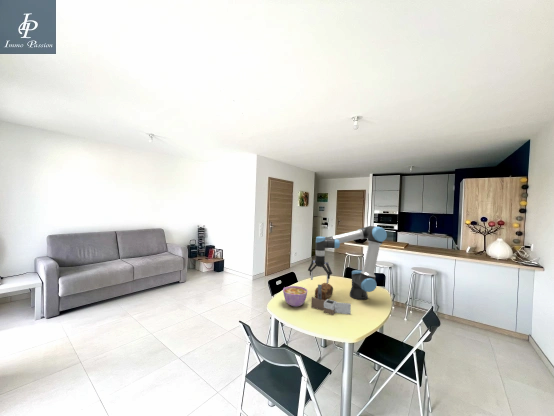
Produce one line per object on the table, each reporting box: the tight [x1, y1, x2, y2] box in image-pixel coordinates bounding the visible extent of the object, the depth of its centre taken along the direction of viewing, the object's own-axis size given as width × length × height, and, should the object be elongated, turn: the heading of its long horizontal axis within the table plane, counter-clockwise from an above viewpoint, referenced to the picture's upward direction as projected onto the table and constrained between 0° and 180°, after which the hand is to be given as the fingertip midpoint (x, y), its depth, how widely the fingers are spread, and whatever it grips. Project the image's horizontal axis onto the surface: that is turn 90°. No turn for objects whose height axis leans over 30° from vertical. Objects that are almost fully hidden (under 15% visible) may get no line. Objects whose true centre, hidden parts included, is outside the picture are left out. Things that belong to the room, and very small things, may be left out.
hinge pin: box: [317, 284, 322, 299], centre depth 176 cm, size 3×3×15 cm
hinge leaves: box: [311, 297, 352, 316], centre depth 162 cm, size 9×29×8 cm, turn 58°
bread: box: [314, 282, 334, 300], centre depth 192 cm, size 19×11×10 cm, turn 145°
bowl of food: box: [282, 285, 309, 308], centre depth 174 cm, size 20×20×12 cm
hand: (319, 281), depth 177 cm, fingers open, 13 cm apart
